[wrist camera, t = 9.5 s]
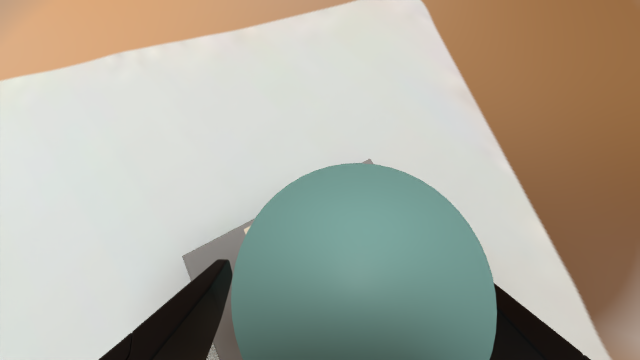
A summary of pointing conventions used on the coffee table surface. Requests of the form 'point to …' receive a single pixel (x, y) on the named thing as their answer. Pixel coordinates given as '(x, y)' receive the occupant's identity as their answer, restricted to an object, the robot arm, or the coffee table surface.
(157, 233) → the coffee table surface
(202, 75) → the coffee table surface
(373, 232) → the teal column
